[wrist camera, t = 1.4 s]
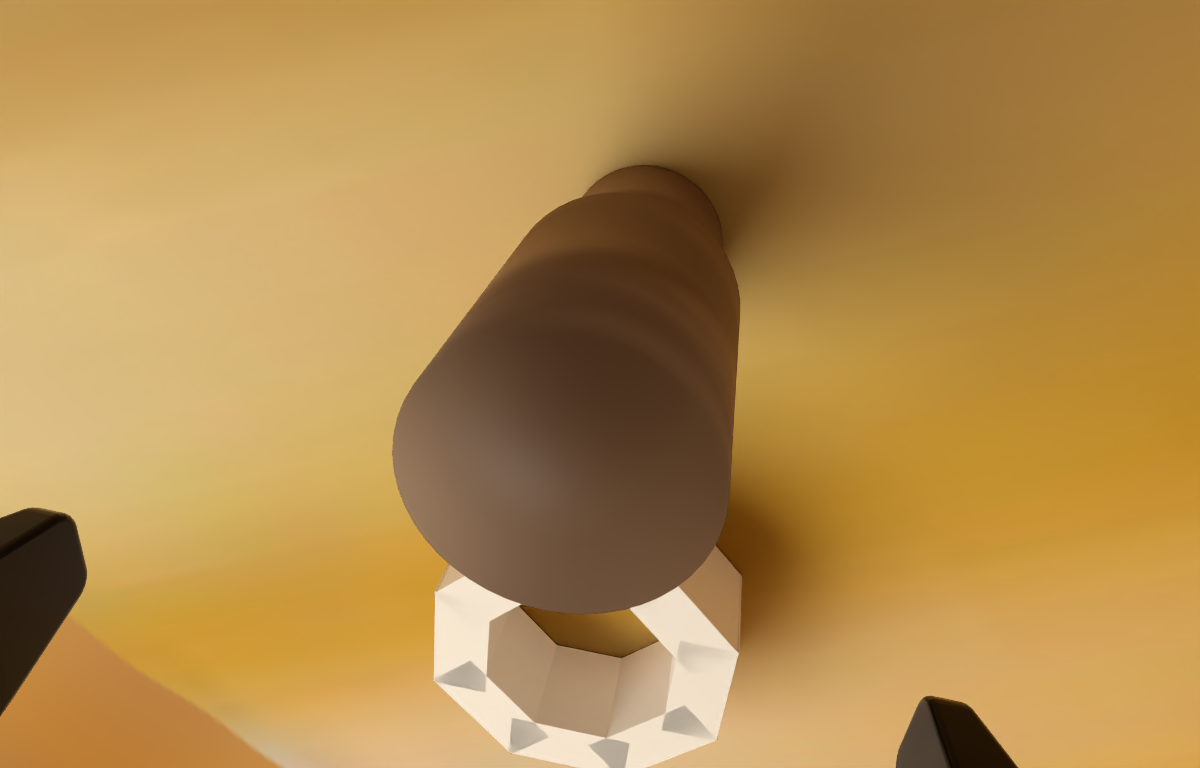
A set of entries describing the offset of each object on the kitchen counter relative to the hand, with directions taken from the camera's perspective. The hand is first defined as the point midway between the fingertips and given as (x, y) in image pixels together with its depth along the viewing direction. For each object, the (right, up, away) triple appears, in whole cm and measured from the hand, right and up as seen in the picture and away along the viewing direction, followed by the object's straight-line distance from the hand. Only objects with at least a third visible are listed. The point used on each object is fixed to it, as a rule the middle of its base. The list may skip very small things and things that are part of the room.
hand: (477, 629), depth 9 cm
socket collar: (+1, -4, +17) cm, 17 cm away
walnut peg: (+2, +6, +11) cm, 13 cm away
